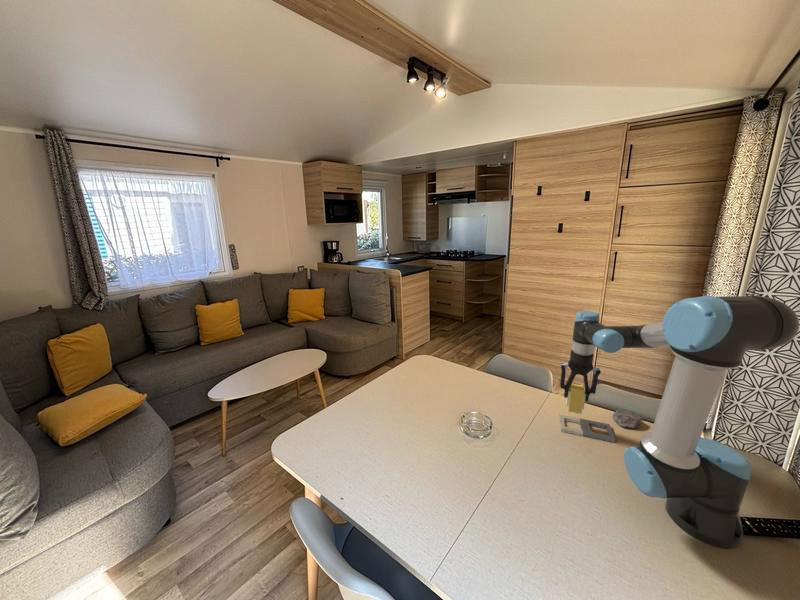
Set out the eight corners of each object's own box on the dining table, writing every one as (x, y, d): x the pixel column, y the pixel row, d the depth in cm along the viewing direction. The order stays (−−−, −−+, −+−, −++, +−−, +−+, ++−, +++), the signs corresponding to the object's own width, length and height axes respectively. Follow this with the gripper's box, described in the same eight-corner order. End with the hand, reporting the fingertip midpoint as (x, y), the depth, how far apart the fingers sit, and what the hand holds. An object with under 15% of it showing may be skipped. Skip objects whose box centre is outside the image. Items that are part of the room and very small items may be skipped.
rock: (642, 422, 127) (644, 414, 126) (631, 432, 121) (633, 423, 120) (618, 412, 134) (619, 404, 133) (606, 421, 128) (608, 412, 127)
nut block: (581, 413, 121) (584, 391, 119) (568, 411, 123) (571, 388, 120) (579, 407, 125) (583, 385, 123) (567, 405, 127) (570, 383, 124)
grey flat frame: (614, 442, 116) (615, 439, 116) (560, 431, 123) (561, 428, 122) (609, 426, 125) (609, 424, 125) (559, 416, 132) (559, 414, 131)
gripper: (607, 351, 118) (598, 405, 124) (555, 344, 124) (549, 396, 130) (611, 359, 111) (602, 416, 117) (557, 352, 118) (550, 406, 124)
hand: (574, 405), depth 124 cm, fingers closed on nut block, 4 cm apart
